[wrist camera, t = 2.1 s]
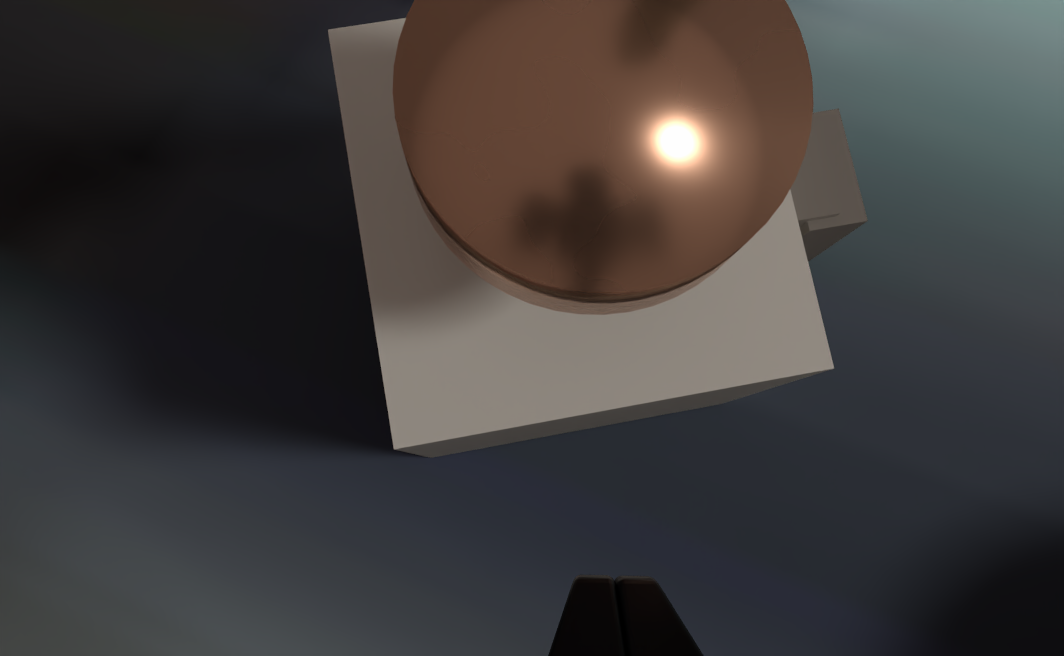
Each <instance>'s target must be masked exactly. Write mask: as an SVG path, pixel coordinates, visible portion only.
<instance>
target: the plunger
mask: <svg viewBox="0 0 1064 656" xmlns="http://www.w3.org/2000/svg"><path fill="white" fill-rule="evenodd" d="M393 102H394V113H395V120H396V124H397V129H398V133H399V137H400V141H401V145H402V148H403V152H404V155H405V158H406V162H407V165H408V169H409V172H410V175H411V179H412V182H413V185H414V188H415V190H416V193H417V196H418V198H419V201H420V203H421V206H422V208H423V210H424V212H425V214H426V215H427V217H428V219H429V221H430V222H431V224H432V226H433V228H434V229H435V231H436V232H437V233H438V235H439V236H440V237H441V239H442V240H443V241H444V243H445V244H446V245H447V247H448V248H449V249H450V250H451V251H452V252H453V253H454V254H455V255H456V256H457V257H458V258H459V259H460V260H461V261H462V262H463V263H464V264H465V265H466V266H467V267H468V268H469V269H471V270H472V271H473V272H474V273H476V274H477V275H478V276H479V277H481V278H482V279H483V280H485V281H486V282H488V283H489V284H491V285H493V286H494V287H496V288H498V289H500V290H501V291H503V292H505V293H506V294H508V295H511V296H513V297H515V298H518V299H520V300H522V301H525V302H527V303H529V304H533V305H536V306H540V307H543V308H547V309H550V310H554V311H560V312H567V313H573V314H585V315H608V314H617V313H626V312H632V311H636V310H640V309H644V308H648V307H652V306H655V305H657V304H660V303H663V302H665V301H668V300H670V299H673V298H675V297H677V296H679V295H681V294H683V293H685V292H686V291H688V290H690V289H692V288H694V287H695V286H697V285H698V284H700V283H701V282H702V281H704V280H705V279H706V278H708V277H709V276H711V275H712V274H713V273H715V272H716V271H717V270H718V269H719V268H720V267H721V266H722V265H723V264H725V263H726V262H727V261H728V260H729V259H730V258H731V257H732V256H733V255H734V254H735V253H736V252H737V251H738V250H740V249H741V248H742V247H743V246H744V245H745V244H746V243H747V242H748V241H749V240H750V239H751V238H752V237H753V236H754V235H755V234H756V233H757V232H758V231H759V230H760V229H761V228H762V227H763V226H764V225H765V224H766V223H767V222H768V221H769V219H770V218H771V217H772V215H773V214H774V213H775V212H776V210H777V209H778V208H779V206H780V205H781V204H782V202H783V201H784V199H785V197H786V195H787V194H788V192H789V190H790V188H791V187H792V185H793V183H794V181H795V179H796V177H797V174H798V172H799V169H800V167H801V164H802V162H803V159H804V156H805V153H806V149H807V145H808V140H809V136H810V132H811V124H812V113H813V86H812V75H811V70H810V64H809V59H808V53H807V50H806V47H805V44H804V41H803V38H802V35H801V32H800V29H799V27H798V25H797V23H796V21H795V18H794V16H793V14H792V12H791V10H790V8H789V6H788V4H787V3H786V1H785V0H415V1H414V3H413V5H412V7H411V9H410V11H409V13H408V15H407V17H406V20H405V23H404V26H403V29H402V32H401V34H400V37H399V40H398V46H397V51H396V56H395V62H394V70H393Z"/></svg>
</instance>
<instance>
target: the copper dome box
mask: <svg viewBox="0 0 1064 656" xmlns="http://www.w3.org/2000/svg"><path fill="white" fill-rule="evenodd" d="M405 20H406V18H403V19H396V20H390V21H383V22H376V23H369V24H363V25H356V26H349V27H343V28H336V29H329V30H328V33H329V40H330V46H331V52H332V59H333V65H334V72H335V78H336V84H337V91H338V97H339V103H340V110H341V116H342V122H343V129H344V135H345V141H346V148H347V154H348V161H349V167H350V173H351V180H352V186H353V192H354V199H355V205H356V211H357V218H358V224H359V231H360V237H361V243H362V250H363V256H364V262H365V269H366V275H367V281H368V288H369V294H370V301H371V307H372V313H373V320H374V326H375V332H376V339H377V345H378V351H379V358H380V364H381V371H382V377H383V383H384V390H385V396H386V402H387V409H388V415H389V421H390V428H391V434H392V440H393V447H394V450H399V451H403V452H407V453H412V454H416V455H421V456H425V457H429V458H432V457H438V456H443V455H448V454H454V453H459V452H465V451H470V450H475V449H481V448H486V447H492V446H497V445H502V444H508V443H513V442H519V441H524V440H529V439H535V438H540V437H546V436H551V435H556V434H562V433H567V432H573V431H578V430H583V429H589V428H594V427H599V426H605V425H610V424H616V423H621V422H626V421H632V420H637V419H643V418H648V417H653V416H659V415H664V414H670V413H675V412H680V411H686V410H691V409H697V408H702V407H707V406H713V405H718V404H722V403H725V402H729V401H732V400H735V399H738V398H741V397H745V396H748V395H751V394H754V393H757V392H760V391H764V390H767V389H770V388H773V387H776V386H780V385H783V384H786V383H789V382H792V381H796V380H799V379H802V378H805V377H808V376H811V375H815V374H818V373H821V372H824V371H827V370H831V369H834V366H833V362H832V358H831V354H830V350H829V346H828V342H827V338H826V333H825V329H824V325H823V321H822V317H821V313H820V309H819V305H818V301H817V297H816V293H815V288H814V284H813V280H812V276H811V272H810V268H809V264H808V261H810V260H811V259H813V258H814V257H816V256H817V255H819V254H820V253H822V252H823V251H824V250H826V249H827V248H829V247H830V246H832V245H833V244H835V243H836V242H838V241H839V240H841V239H842V238H843V237H845V236H846V235H848V234H849V233H851V232H852V231H854V230H855V229H857V228H858V227H859V226H861V225H862V224H864V223H865V222H867V221H868V220H867V216H866V213H865V209H864V205H863V201H862V197H861V193H860V189H859V185H858V182H857V178H856V174H855V170H854V166H853V162H852V158H851V154H850V151H849V147H848V143H847V139H846V135H845V131H844V127H843V123H842V120H841V116H840V112H839V109H834V110H828V111H822V112H816V113H812V124H811V132H810V136H809V140H808V145H807V149H806V153H805V156H804V159H803V162H802V164H801V167H800V169H799V172H798V174H797V177H796V179H795V181H794V183H793V185H792V187H791V188H790V190H789V192H788V194H787V195H786V197H785V199H784V201H783V202H782V204H781V205H780V206H779V208H778V209H777V210H776V212H775V213H774V214H773V215H772V217H771V218H770V219H769V221H768V222H767V223H766V224H765V225H764V226H763V227H762V228H761V229H760V230H759V231H758V232H757V233H756V234H755V235H754V236H753V237H752V238H751V239H750V240H749V241H748V242H747V243H746V244H745V245H744V246H743V247H742V248H741V249H740V250H738V251H737V252H736V253H735V254H734V255H733V256H732V257H731V258H730V259H729V260H728V261H727V262H726V263H725V264H723V265H722V266H721V267H720V268H719V269H718V270H717V271H716V272H715V273H713V274H712V275H711V276H709V277H708V278H706V279H705V280H704V281H702V282H701V283H700V284H698V285H697V286H695V287H694V288H692V289H690V290H688V291H686V292H685V293H683V294H681V295H679V296H677V297H675V298H673V299H670V300H668V301H665V302H663V303H660V304H657V305H655V306H652V307H648V308H644V309H640V310H636V311H632V312H626V313H617V314H608V315H585V314H573V313H567V312H560V311H554V310H550V309H547V308H543V307H540V306H536V305H533V304H529V303H527V302H525V301H522V300H520V299H518V298H515V297H513V296H511V295H508V294H506V293H505V292H503V291H501V290H500V289H498V288H496V287H494V286H493V285H491V284H489V283H488V282H486V281H485V280H483V279H482V278H481V277H479V276H478V275H477V274H476V273H474V272H473V271H472V270H471V269H469V268H468V267H467V266H466V265H465V264H464V263H463V262H462V261H461V260H460V259H459V258H458V257H457V256H456V255H455V254H454V253H453V252H452V251H451V250H450V249H449V248H448V247H447V245H446V244H445V243H444V241H443V240H442V239H441V237H440V236H439V235H438V233H437V232H436V231H435V229H434V228H433V226H432V224H431V222H430V221H429V219H428V217H427V215H426V214H425V212H424V210H423V208H422V206H421V203H420V201H419V198H418V196H417V193H416V190H415V188H414V185H413V182H412V179H411V175H410V172H409V169H408V165H407V162H406V158H405V155H404V152H403V148H402V145H401V141H400V137H399V133H398V129H397V124H396V120H395V113H394V102H393V70H394V62H395V56H396V51H397V46H398V40H399V37H400V34H401V32H402V29H403V26H404V23H405Z"/></svg>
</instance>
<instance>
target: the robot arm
mask: <svg viewBox="0 0 1064 656" xmlns="http://www.w3.org/2000/svg"><path fill="white" fill-rule="evenodd" d="M548 656H703V654H702V652H701V651H700V649H699V648H698V646H697V644H696V643H695V641H694V640H693V638H692V636H691V635H690V633H689V632H688V630H687V628H686V627H685V625H684V624H683V622H682V620H681V619H680V617H679V616H678V614H677V612H676V611H675V609H674V608H673V606H672V604H671V603H670V601H669V600H668V598H667V596H666V595H665V593H664V592H663V590H662V588H661V587H660V585H659V584H658V583H657V581H656V580H655V579H653V578H652V577H648V576H618V577H617V578H616V579H615V581H614V580H613V578H611V577H610V576H607V575H578V576H577V577H576V578H575V579H574V581H573V584H572V586H571V589H570V592H569V595H568V598H567V601H566V604H565V607H564V610H563V613H562V616H561V619H560V622H559V625H558V628H557V631H556V634H555V637H554V640H553V643H552V646H551V649H550V652H549V655H548Z"/></svg>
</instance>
